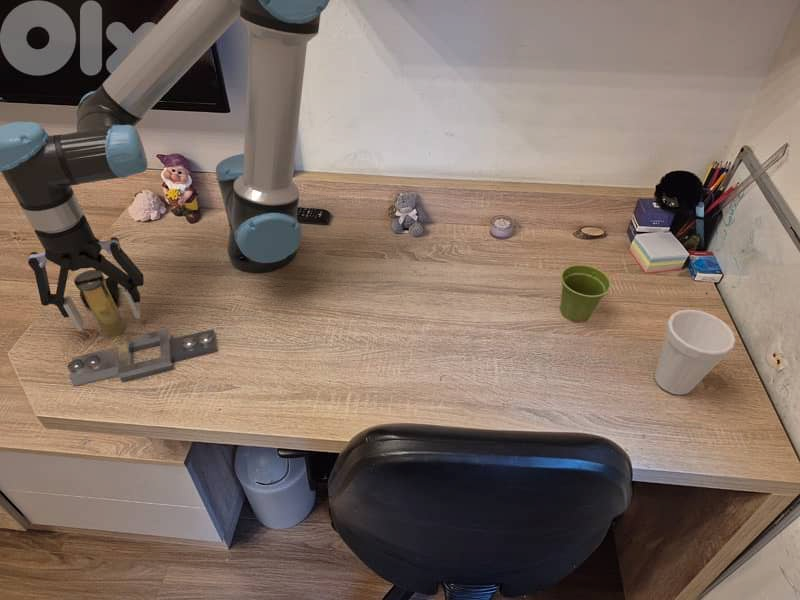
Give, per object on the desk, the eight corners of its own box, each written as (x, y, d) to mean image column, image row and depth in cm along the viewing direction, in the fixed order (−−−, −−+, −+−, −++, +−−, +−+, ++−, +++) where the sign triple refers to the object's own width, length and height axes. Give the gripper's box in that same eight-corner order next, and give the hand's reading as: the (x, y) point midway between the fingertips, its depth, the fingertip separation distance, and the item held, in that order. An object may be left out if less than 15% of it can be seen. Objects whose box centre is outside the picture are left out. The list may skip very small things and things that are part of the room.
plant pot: (607, 310, 106) (619, 277, 100) (587, 336, 101) (599, 303, 95) (564, 290, 110) (574, 258, 105) (543, 314, 105) (552, 281, 99)
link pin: (128, 318, 104) (103, 267, 95) (127, 334, 100) (101, 283, 92) (102, 324, 102) (75, 273, 94) (101, 340, 99) (73, 289, 90)
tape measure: (120, 308, 106) (113, 294, 104) (83, 315, 105) (75, 301, 102) (122, 287, 111) (116, 273, 108) (87, 293, 109) (79, 279, 107)
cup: (713, 383, 92) (746, 331, 84) (687, 415, 87) (720, 363, 78) (659, 352, 98) (685, 300, 89) (632, 380, 93) (657, 329, 84)
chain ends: (214, 326, 102) (210, 316, 100) (218, 358, 96) (215, 348, 94) (76, 358, 96) (69, 348, 94) (71, 394, 90) (65, 384, 88)
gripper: (132, 197, 90) (170, 294, 105) (-15, 221, 84) (48, 320, 99) (131, 220, 85) (171, 319, 100) (-25, 247, 79) (42, 348, 94)
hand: (110, 320), depth 100 cm, fingers open, 9 cm apart
